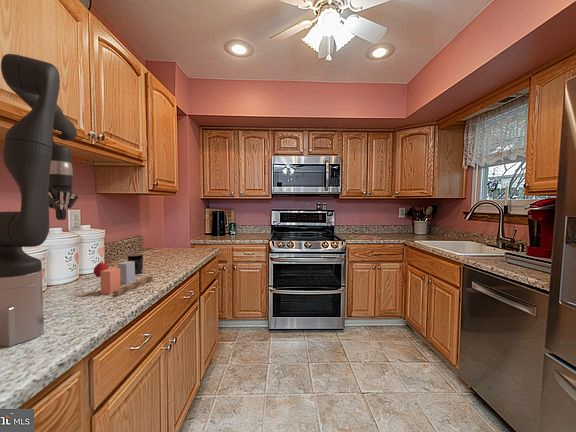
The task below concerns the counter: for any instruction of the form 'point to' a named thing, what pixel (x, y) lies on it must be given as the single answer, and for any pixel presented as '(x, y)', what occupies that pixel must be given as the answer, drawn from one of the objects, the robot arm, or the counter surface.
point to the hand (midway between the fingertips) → (61, 219)
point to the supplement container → (136, 262)
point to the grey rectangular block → (127, 272)
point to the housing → (132, 286)
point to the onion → (100, 268)
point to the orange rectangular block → (110, 280)
